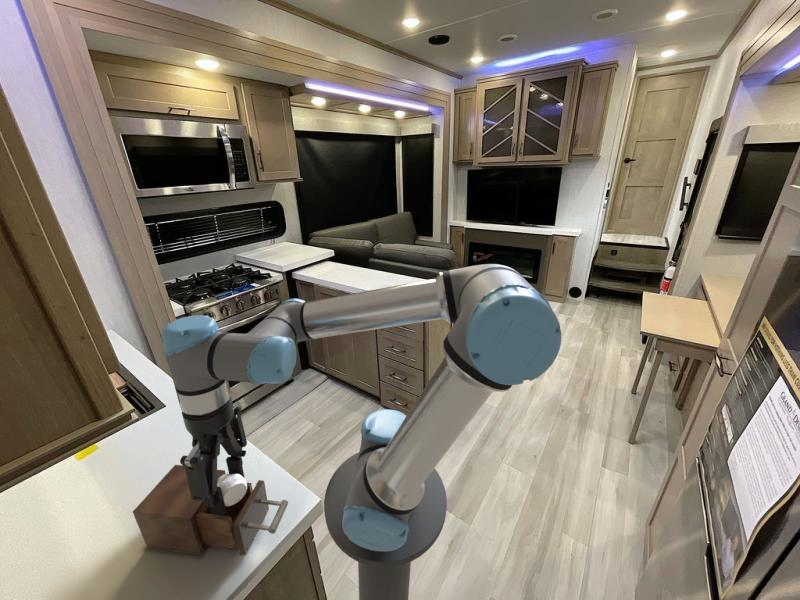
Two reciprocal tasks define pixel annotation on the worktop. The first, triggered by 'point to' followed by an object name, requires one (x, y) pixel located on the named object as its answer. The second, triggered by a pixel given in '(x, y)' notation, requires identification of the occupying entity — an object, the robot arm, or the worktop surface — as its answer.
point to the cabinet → (171, 515)
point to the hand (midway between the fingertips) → (228, 496)
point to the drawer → (239, 520)
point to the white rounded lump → (232, 488)
